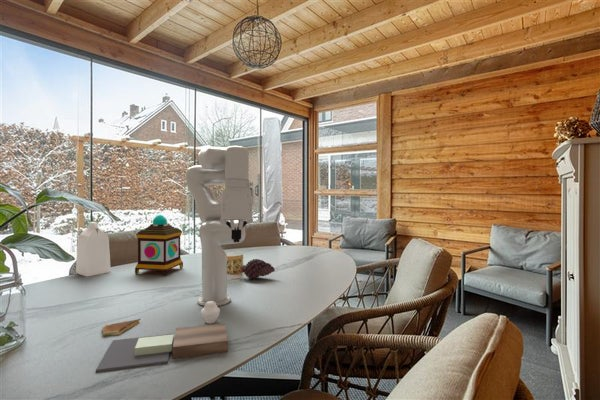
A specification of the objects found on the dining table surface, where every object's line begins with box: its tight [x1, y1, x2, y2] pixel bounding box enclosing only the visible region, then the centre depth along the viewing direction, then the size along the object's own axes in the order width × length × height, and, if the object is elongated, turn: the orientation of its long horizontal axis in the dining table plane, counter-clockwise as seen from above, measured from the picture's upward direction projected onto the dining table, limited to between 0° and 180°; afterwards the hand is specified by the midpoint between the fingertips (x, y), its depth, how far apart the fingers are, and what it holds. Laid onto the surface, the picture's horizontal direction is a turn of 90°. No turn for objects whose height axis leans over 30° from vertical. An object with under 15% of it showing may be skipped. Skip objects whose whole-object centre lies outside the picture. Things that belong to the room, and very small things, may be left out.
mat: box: [95, 333, 174, 373], centre depth 88 cm, size 16×16×1 cm
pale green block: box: [135, 333, 175, 356], centre depth 89 cm, size 9×6×2 cm, turn 107°
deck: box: [172, 323, 229, 359], centre depth 93 cm, size 12×14×3 cm
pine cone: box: [239, 258, 275, 280], centre depth 162 cm, size 18×10×10 cm, turn 88°
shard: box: [102, 318, 141, 337], centre depth 102 cm, size 11×8×2 cm
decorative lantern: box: [134, 214, 184, 277], centre depth 174 cm, size 20×20×30 cm
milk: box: [75, 221, 112, 277], centre depth 170 cm, size 12×12×26 cm
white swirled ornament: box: [200, 301, 221, 325], centre depth 109 cm, size 6×6×7 cm
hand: (236, 241), depth 107 cm, fingers closed
